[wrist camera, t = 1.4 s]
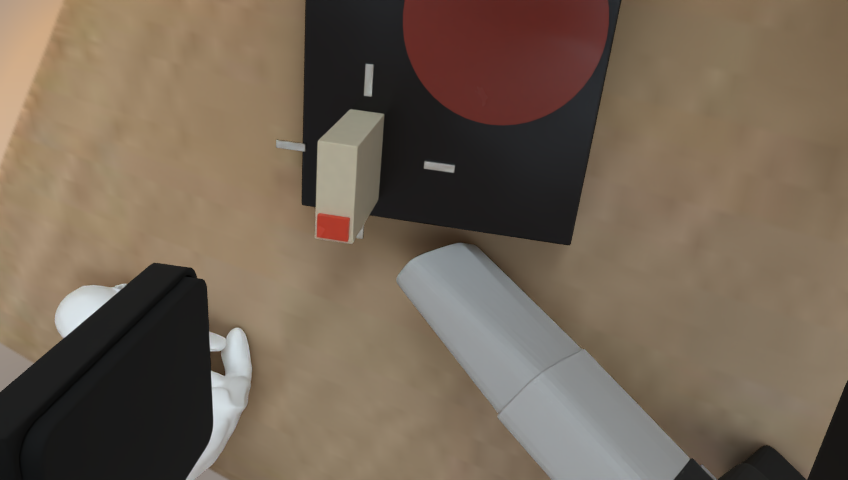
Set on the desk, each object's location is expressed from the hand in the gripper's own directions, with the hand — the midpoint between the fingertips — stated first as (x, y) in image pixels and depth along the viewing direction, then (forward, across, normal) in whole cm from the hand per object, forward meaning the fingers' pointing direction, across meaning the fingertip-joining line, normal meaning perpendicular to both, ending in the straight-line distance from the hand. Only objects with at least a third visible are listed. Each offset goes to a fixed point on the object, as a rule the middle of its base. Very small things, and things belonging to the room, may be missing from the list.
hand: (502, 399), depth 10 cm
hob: (+24, +3, -1) cm, 24 cm away
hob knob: (+22, +7, +3) cm, 23 cm away
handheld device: (+24, -7, +14) cm, 29 cm away
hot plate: (+21, +1, -3) cm, 22 cm away
